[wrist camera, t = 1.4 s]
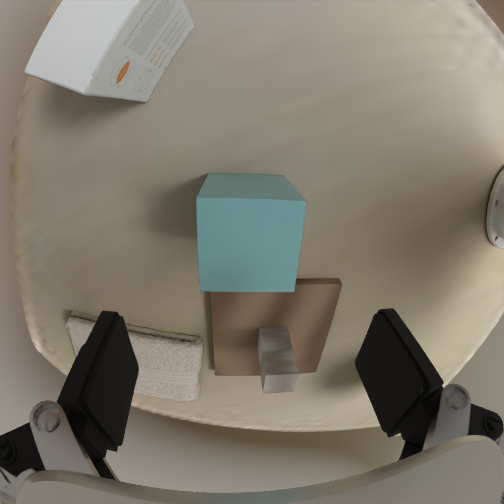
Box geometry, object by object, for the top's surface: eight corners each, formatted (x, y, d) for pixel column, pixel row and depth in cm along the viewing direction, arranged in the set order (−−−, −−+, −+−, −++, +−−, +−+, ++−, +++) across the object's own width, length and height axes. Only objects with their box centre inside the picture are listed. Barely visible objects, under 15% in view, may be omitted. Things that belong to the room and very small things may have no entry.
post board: (338, 278, 27) (366, 326, 20) (314, 366, 33) (327, 411, 27) (210, 278, 26) (204, 331, 19) (215, 369, 32) (213, 418, 26)
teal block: (283, 175, 22) (306, 201, 15) (277, 242, 25) (294, 291, 18) (208, 173, 22) (196, 197, 15) (208, 241, 24) (200, 291, 17)
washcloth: (68, 305, 27) (57, 320, 25) (206, 331, 30) (204, 351, 27) (86, 365, 33) (80, 379, 30) (200, 388, 35) (199, 405, 32)
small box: (143, 9, 14) (93, -43, 5) (197, 26, 16) (171, -35, 6) (97, 84, 17) (19, 74, 8) (147, 105, 19) (83, 96, 9)
